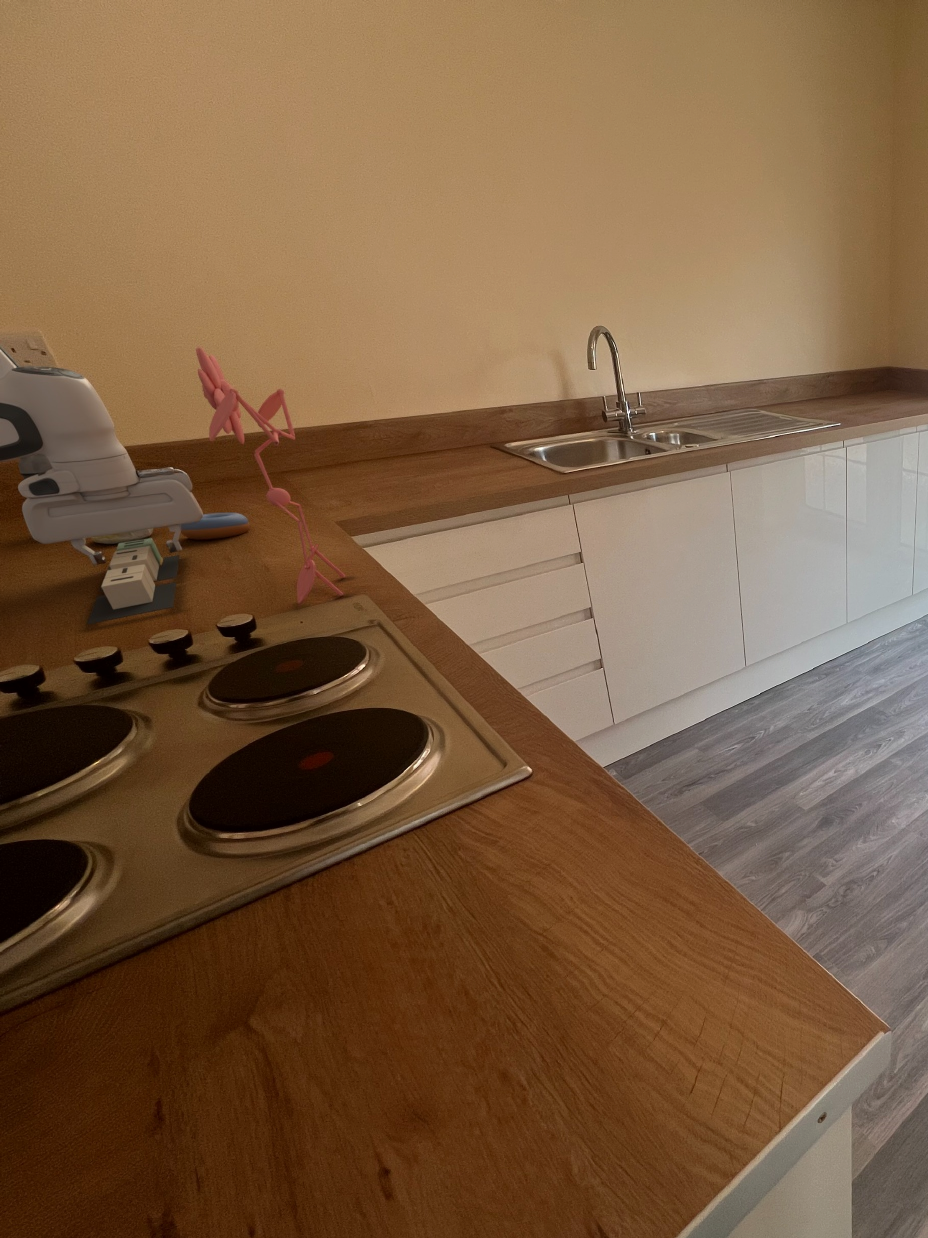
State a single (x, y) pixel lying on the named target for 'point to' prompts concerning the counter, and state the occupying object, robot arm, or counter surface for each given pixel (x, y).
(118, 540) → the bread roll
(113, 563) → the slotted cream cube
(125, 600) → the white slotted box
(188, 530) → the doughnut
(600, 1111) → the counter surface
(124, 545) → the slotted green block
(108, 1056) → the counter surface
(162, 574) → the mats
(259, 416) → the figurine
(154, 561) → the off-white marked cube
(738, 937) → the counter surface
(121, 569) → the white slotted cube
